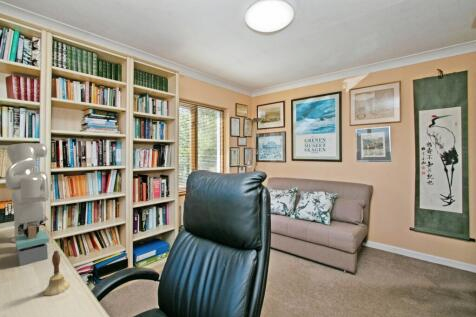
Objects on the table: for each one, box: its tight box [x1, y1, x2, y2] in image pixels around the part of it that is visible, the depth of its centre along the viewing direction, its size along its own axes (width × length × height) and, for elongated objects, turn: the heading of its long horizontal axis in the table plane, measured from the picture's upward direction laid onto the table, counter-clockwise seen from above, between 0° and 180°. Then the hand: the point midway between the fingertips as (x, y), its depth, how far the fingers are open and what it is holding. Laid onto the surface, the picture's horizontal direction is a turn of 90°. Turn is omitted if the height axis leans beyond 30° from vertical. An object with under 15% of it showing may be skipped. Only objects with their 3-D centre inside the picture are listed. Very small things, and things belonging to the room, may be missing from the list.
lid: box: [14, 223, 50, 251], centre depth 117 cm, size 15×12×8 cm
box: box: [16, 243, 49, 267], centre depth 117 cm, size 14×10×7 cm
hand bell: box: [42, 250, 70, 297], centre depth 91 cm, size 8×8×16 cm
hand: (31, 234), depth 117 cm, fingers closed on lid, 3 cm apart
